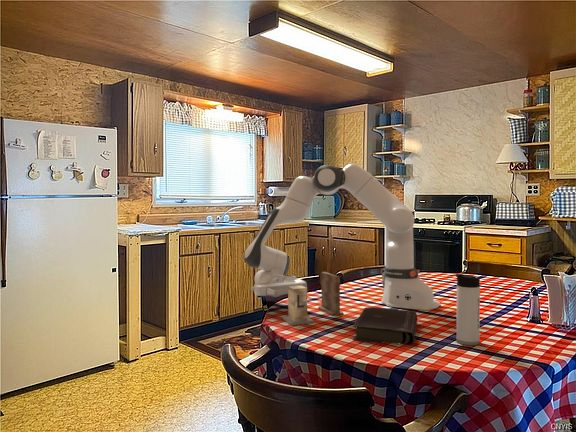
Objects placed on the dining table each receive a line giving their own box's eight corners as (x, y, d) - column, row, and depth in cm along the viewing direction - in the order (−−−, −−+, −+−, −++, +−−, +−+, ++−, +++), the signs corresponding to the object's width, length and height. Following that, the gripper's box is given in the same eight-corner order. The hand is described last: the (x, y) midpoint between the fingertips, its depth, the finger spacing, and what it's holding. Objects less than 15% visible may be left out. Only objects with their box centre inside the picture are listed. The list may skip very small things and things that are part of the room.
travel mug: (451, 339, 136) (451, 272, 135) (473, 338, 137) (473, 272, 136) (461, 346, 130) (461, 276, 129) (483, 345, 131) (484, 275, 130)
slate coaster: (303, 317, 164) (303, 314, 164) (313, 322, 156) (313, 320, 156) (282, 319, 161) (282, 317, 161) (291, 325, 153) (291, 322, 153)
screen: (318, 308, 176) (318, 272, 175) (328, 307, 177) (328, 271, 177) (332, 315, 165) (332, 277, 164) (343, 314, 166) (343, 276, 166)
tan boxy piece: (301, 316, 162) (301, 285, 161) (307, 319, 157) (307, 287, 156) (288, 317, 160) (288, 286, 159) (294, 321, 155) (293, 289, 155)
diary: (417, 324, 155) (417, 310, 155) (414, 348, 131) (414, 331, 131) (362, 320, 161) (362, 305, 160) (349, 341, 137) (350, 325, 137)
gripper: (249, 279, 176) (260, 285, 163) (298, 275, 183) (312, 281, 170) (249, 295, 176) (260, 303, 163) (298, 291, 183) (312, 298, 170)
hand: (287, 291), depth 167 cm, fingers open, 8 cm apart
